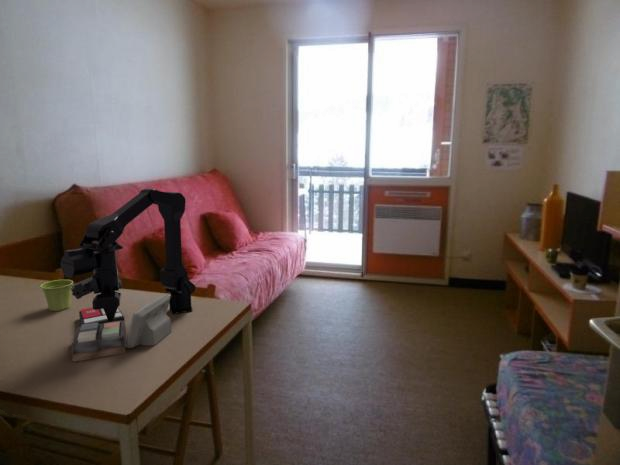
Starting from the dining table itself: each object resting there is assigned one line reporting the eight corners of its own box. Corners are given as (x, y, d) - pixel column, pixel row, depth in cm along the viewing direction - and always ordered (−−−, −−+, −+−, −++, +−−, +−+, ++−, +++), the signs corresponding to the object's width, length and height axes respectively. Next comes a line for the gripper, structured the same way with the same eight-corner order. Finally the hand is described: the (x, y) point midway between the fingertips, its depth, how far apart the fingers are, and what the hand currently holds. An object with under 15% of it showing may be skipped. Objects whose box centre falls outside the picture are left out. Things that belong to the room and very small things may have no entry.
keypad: (125, 331, 119) (124, 318, 118) (125, 352, 106) (123, 338, 106) (79, 338, 114) (78, 325, 113) (72, 361, 102) (71, 347, 101)
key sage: (119, 334, 111) (118, 326, 110) (119, 340, 107) (118, 332, 107) (103, 336, 109) (102, 329, 109) (102, 342, 106) (101, 335, 105)
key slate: (98, 329, 114) (97, 322, 113) (97, 335, 110) (96, 327, 110) (82, 332, 112) (81, 324, 112) (81, 337, 109) (80, 330, 108)
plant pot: (78, 301, 143) (75, 278, 142) (72, 311, 134) (69, 286, 133) (48, 304, 140) (45, 280, 139) (39, 314, 132) (36, 289, 130)
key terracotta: (120, 328, 116) (119, 321, 116) (120, 334, 112) (119, 327, 112) (104, 331, 114) (104, 323, 114) (104, 336, 111) (103, 329, 110)
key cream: (97, 337, 109) (96, 330, 108) (95, 343, 105) (95, 336, 105) (80, 340, 107) (79, 332, 107) (78, 346, 104) (77, 338, 103)
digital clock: (159, 324, 124) (156, 291, 122) (182, 329, 121) (180, 295, 119) (116, 347, 109) (112, 310, 107) (141, 353, 106) (138, 315, 104)
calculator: (116, 301, 134) (124, 314, 121) (117, 314, 135) (125, 327, 122) (78, 308, 128) (82, 322, 116) (80, 321, 129) (84, 336, 116)
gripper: (76, 262, 115) (82, 314, 118) (66, 281, 98) (73, 340, 101) (119, 258, 119) (123, 308, 122) (116, 275, 103) (122, 332, 105)
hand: (110, 321), depth 113 cm, fingers closed
